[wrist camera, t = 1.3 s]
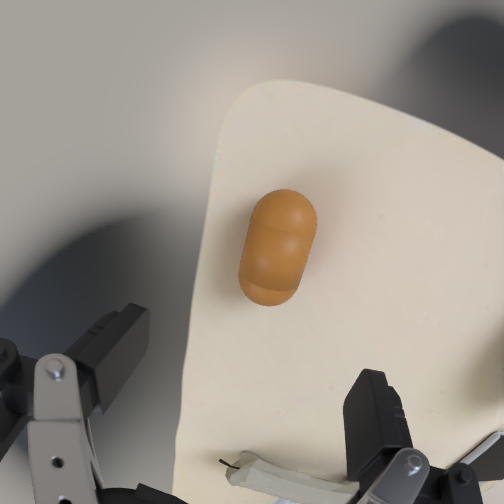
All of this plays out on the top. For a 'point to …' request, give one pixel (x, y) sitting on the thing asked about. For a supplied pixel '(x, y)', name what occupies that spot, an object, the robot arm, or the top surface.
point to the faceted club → (286, 482)
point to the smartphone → (488, 458)
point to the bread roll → (277, 247)
